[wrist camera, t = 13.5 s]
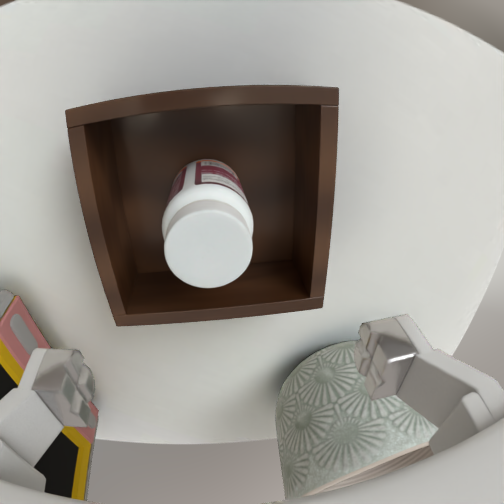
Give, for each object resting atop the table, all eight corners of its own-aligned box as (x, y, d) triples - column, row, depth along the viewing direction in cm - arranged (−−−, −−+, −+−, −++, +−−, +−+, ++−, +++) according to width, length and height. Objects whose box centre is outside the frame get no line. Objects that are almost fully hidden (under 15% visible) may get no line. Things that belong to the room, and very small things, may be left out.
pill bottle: (192, 234, 23) (188, 309, 16) (159, 177, 20) (134, 232, 13) (252, 206, 22) (277, 271, 15) (223, 145, 20) (234, 182, 13)
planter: (415, 302, 31) (492, 410, 18) (381, 394, 39) (422, 483, 26) (257, 329, 29) (292, 484, 16) (262, 420, 38) (283, 525, 25)
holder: (98, 102, 18) (64, 110, 13) (306, 85, 19) (339, 87, 14) (130, 278, 25) (116, 326, 20) (301, 263, 26) (322, 308, 21)
